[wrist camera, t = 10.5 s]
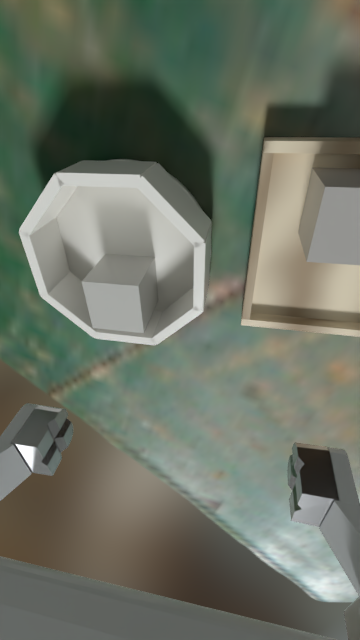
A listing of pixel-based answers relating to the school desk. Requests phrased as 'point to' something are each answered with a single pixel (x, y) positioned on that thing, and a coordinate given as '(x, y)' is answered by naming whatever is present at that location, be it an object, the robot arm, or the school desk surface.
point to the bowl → (119, 240)
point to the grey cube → (122, 292)
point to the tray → (297, 244)
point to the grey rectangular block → (332, 217)
